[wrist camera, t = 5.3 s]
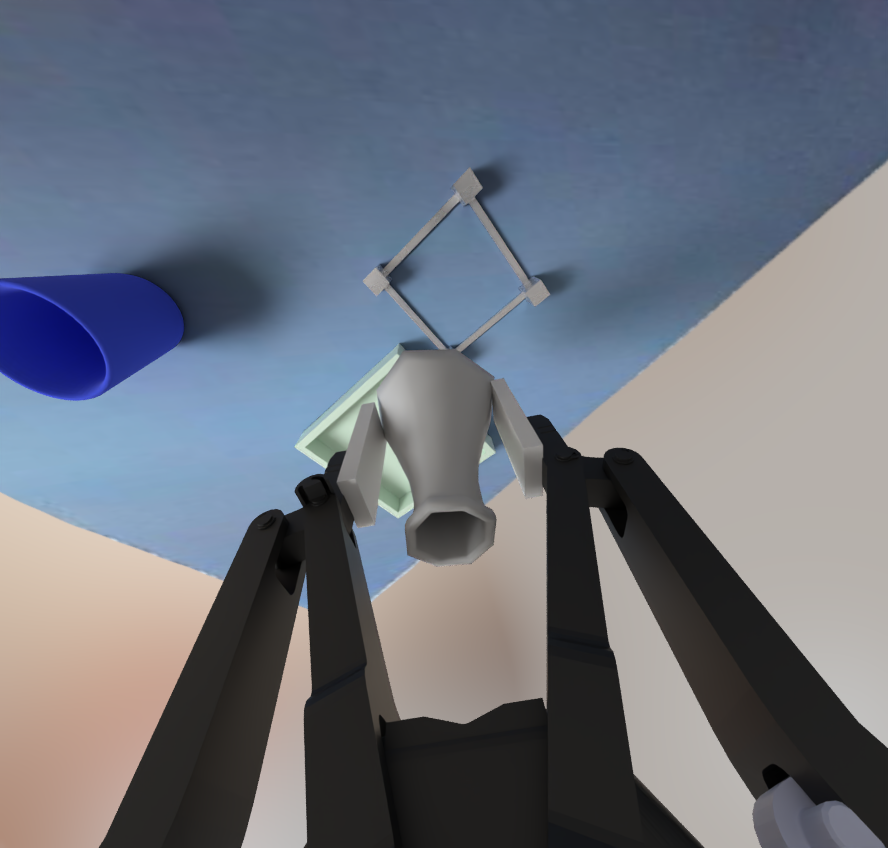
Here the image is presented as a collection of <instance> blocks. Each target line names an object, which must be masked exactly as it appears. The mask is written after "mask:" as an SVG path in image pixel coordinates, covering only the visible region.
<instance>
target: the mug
mask: <svg viewBox="0 0 888 848" xmlns="http://www.w3.org/2000/svg"><path fill="white" fill-rule="evenodd" d="M183 332H184V322H183V318H182V315H181V312H180V310H179V308H178V307H177V305H176V304H175V302H174V301H173V300H172V298H171V297H170V296H169V295H168V294H167V293H166V292H164V291H163V290H162V289H161V288H159V287H158V286H156V285H155V284H153V283H151V282H149V281H147V280H145V279H143V278H140V277H137V276H133V275H128V274H121V273H107V274H86V275H65V276H44V277H22V278H1V279H0V372H1V373H2V374H4V375H5V376H7V377H8V378H10V379H11V380H13V381H15V382H16V383H18V384H20V385H22V386H24V387H26V388H28V389H30V390H33V391H35V392H37V393H40V394H43V395H46V396H50V397H53V398H58V399H64V400H87V399H92V398H95V397H97V396H100V395H102V394H103V393H105V392H106V391H108V390H109V389H111V388H112V387H114V386H116V385H117V384H119V383H120V382H122V381H123V380H125V379H126V378H128V377H130V376H131V375H133V374H134V373H136V372H137V371H139V370H140V369H142V368H144V367H145V366H147V365H148V364H150V363H151V362H153V361H154V360H156V359H158V358H159V357H161V356H162V355H164V354H165V353H167V352H168V351H170V350H171V349H173V348H174V347H175V346H176V345H177V344H178V343H179V341H180V340H181V338H182V336H183Z"/></svg>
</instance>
